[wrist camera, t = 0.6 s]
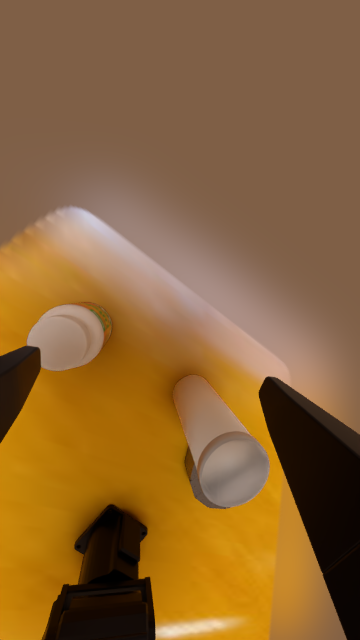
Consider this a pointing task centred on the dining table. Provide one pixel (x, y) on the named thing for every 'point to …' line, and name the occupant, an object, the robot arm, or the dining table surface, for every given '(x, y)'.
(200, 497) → the collar
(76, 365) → the supplement bottle
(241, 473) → the duct sleeve
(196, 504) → the dining table surface
